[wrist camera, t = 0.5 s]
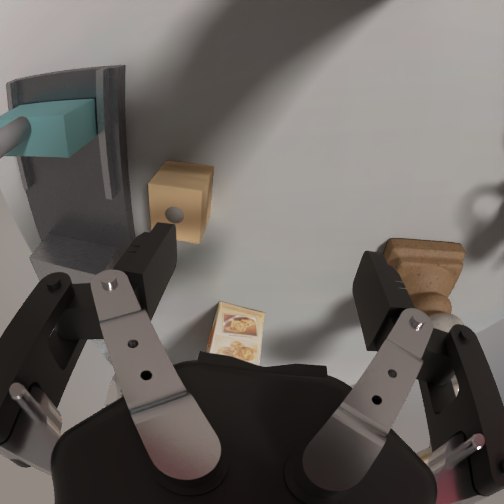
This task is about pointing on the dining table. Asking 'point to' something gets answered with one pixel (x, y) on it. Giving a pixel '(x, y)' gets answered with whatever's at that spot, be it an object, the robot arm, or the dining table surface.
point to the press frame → (79, 177)
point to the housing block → (182, 198)
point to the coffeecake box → (237, 333)
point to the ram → (47, 128)
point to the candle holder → (428, 282)
